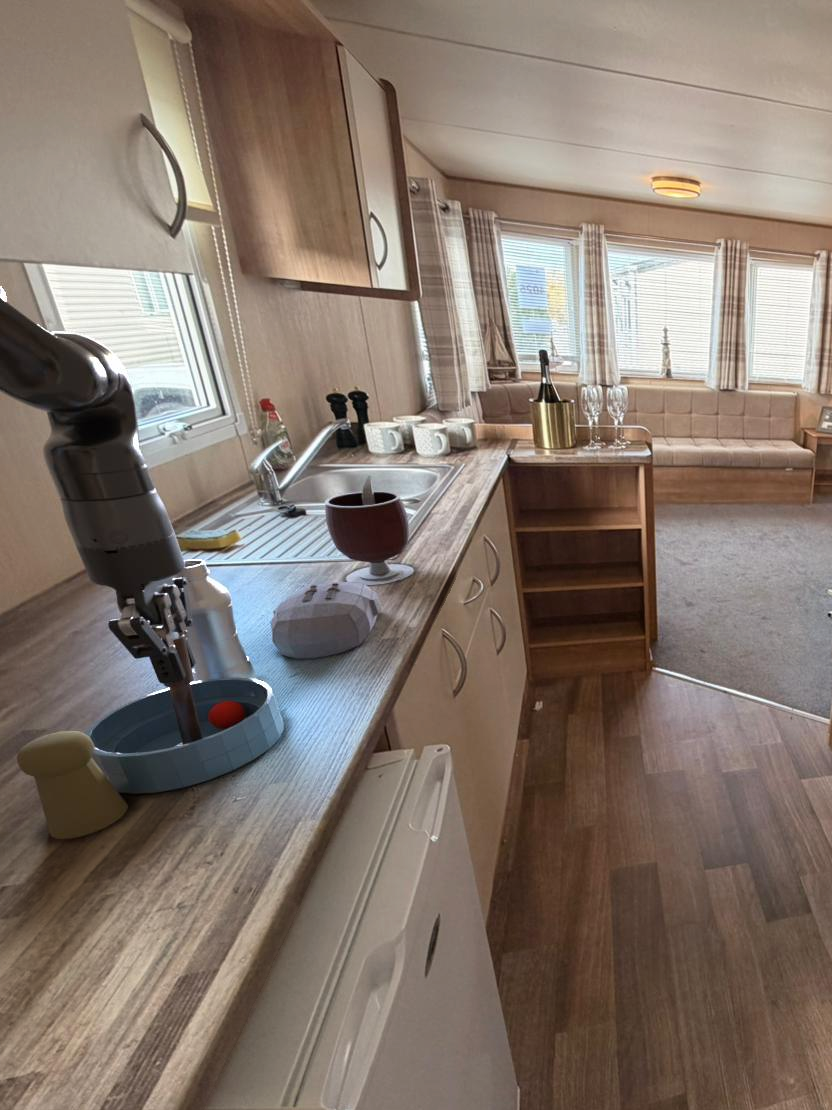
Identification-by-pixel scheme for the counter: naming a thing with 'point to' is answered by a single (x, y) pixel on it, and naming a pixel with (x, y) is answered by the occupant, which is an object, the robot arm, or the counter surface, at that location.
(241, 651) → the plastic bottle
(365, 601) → the grey rounded bag
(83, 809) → the cork
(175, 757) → the bowl
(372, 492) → the mate gourd
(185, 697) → the wooden peg stand
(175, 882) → the counter surface
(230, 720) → the tomato
